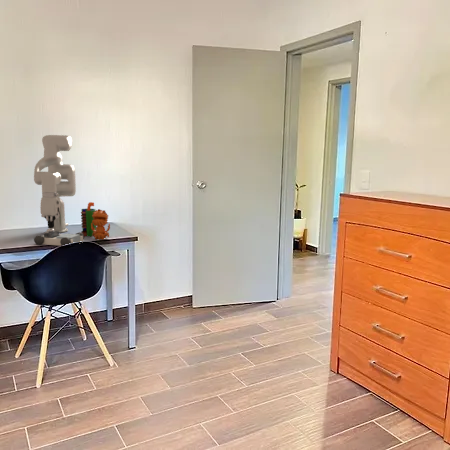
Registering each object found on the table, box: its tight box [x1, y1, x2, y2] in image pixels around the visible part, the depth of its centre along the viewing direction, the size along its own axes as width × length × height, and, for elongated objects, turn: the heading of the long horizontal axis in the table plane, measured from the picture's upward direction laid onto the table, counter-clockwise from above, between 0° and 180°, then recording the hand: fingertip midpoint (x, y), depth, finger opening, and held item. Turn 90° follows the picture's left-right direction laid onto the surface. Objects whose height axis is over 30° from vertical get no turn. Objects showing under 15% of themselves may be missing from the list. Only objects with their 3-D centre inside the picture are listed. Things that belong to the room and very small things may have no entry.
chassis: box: [33, 231, 85, 247], centre depth 250 cm, size 16×22×5 cm
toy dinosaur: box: [91, 209, 111, 240], centre depth 262 cm, size 11×11×18 cm
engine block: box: [43, 228, 60, 238], centre depth 251 cm, size 7×5×6 cm
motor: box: [80, 201, 97, 237], centre depth 272 cm, size 10×9×20 cm
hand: (51, 227), depth 250 cm, fingers closed
